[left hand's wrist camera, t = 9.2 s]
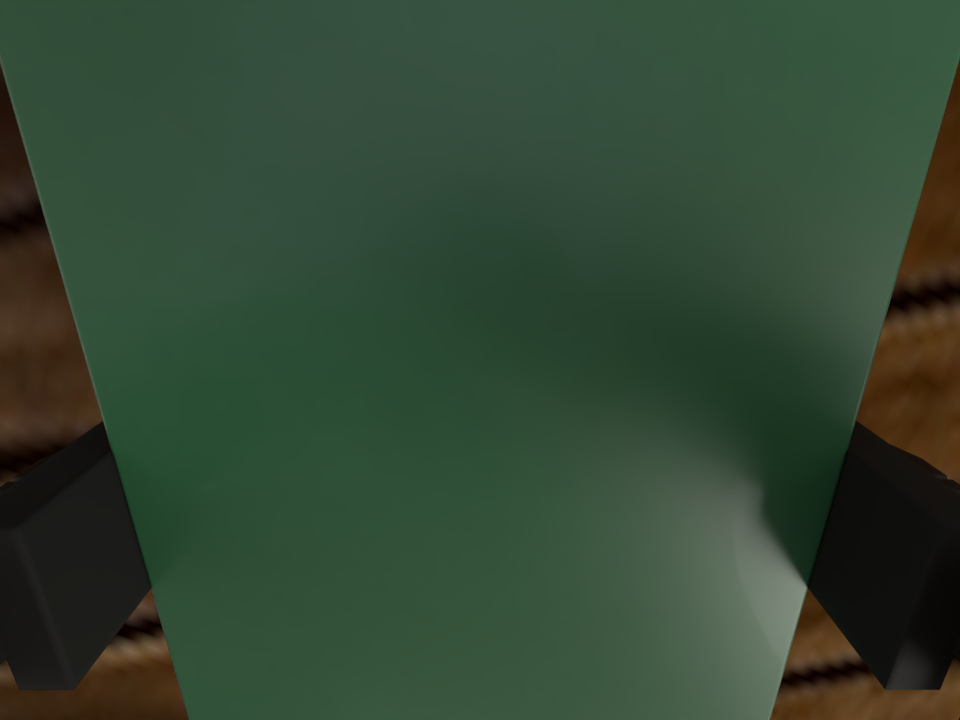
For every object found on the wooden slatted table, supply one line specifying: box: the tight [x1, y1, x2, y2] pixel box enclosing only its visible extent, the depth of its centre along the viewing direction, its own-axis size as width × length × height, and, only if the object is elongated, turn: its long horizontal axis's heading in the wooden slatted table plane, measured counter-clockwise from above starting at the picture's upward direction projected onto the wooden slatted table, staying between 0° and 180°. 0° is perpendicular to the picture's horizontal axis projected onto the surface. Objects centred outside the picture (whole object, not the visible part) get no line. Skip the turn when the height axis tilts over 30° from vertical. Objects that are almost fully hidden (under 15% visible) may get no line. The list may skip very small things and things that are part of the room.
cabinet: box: [0, 0, 960, 720], centre depth 12 cm, size 21×11×11 cm, turn 0°
